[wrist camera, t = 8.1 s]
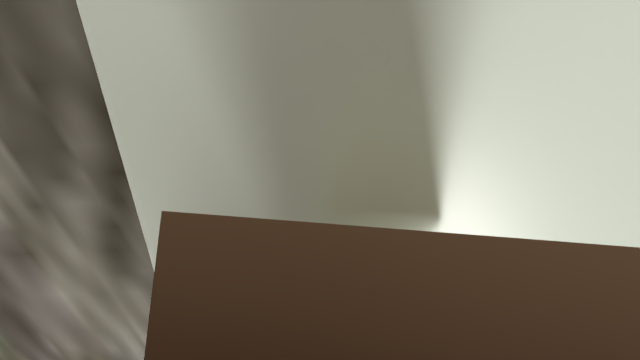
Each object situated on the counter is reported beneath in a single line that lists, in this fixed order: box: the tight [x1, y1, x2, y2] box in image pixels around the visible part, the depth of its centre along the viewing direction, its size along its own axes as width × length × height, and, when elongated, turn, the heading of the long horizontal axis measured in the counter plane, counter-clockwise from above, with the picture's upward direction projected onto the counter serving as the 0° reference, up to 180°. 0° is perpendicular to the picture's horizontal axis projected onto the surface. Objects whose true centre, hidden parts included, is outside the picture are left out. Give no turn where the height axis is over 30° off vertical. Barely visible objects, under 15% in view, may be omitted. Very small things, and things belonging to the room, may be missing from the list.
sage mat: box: [76, 0, 640, 272], centre depth 15 cm, size 19×20×1 cm
